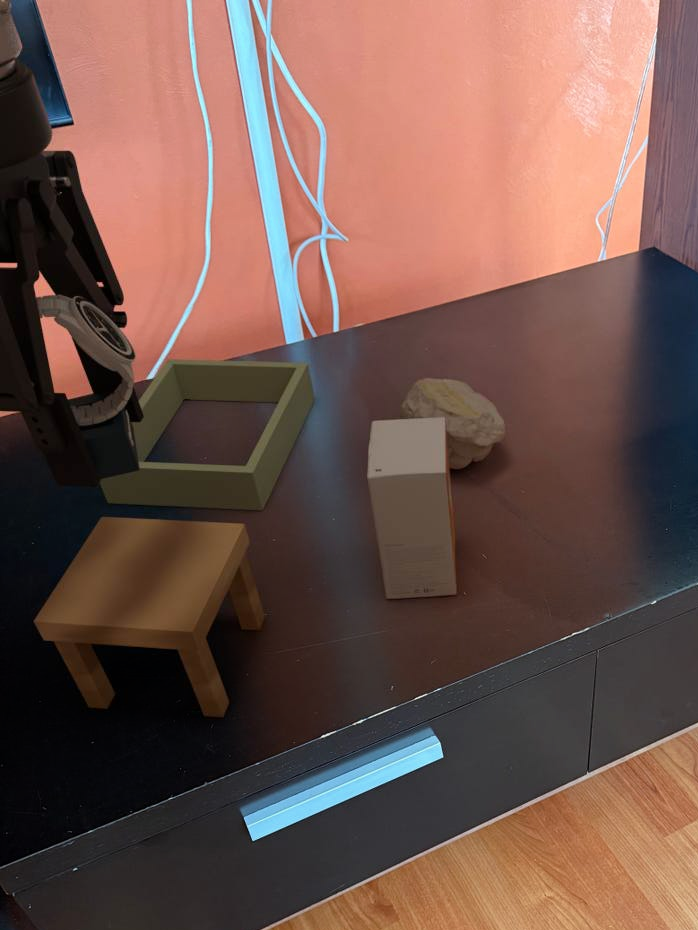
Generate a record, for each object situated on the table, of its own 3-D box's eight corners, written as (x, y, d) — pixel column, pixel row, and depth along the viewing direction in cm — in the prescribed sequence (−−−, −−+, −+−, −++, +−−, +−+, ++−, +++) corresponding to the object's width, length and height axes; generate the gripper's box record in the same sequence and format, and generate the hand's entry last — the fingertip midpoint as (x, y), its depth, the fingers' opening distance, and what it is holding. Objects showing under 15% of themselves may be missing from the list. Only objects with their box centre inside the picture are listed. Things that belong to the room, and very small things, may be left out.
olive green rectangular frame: (107, 503, 94) (92, 465, 91) (179, 394, 108) (167, 358, 105) (262, 510, 92) (252, 472, 89) (315, 399, 106) (308, 362, 103)
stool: (81, 711, 75) (32, 621, 68) (139, 606, 83) (101, 516, 76) (226, 722, 74) (192, 631, 66) (270, 614, 82) (244, 523, 75)
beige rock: (442, 412, 103) (382, 464, 98) (426, 343, 97) (362, 395, 92) (533, 439, 97) (474, 496, 92) (522, 367, 91) (459, 424, 86)
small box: (458, 596, 82) (447, 472, 73) (385, 600, 82) (364, 477, 73) (456, 536, 88) (446, 414, 78) (388, 540, 88) (369, 419, 79)
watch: (169, 463, 64) (116, 310, 56) (46, 491, 63) (-26, 337, 55) (161, 420, 68) (110, 271, 60) (45, 446, 66) (-23, 296, 59)
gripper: (-86, 139, 41) (94, 546, 58) (99, 18, 55) (202, 375, 71) (-241, 140, 42) (-20, 540, 59) (-21, 21, 56) (108, 372, 72)
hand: (102, 449), depth 65 cm, fingers closed on watch, 7 cm apart
